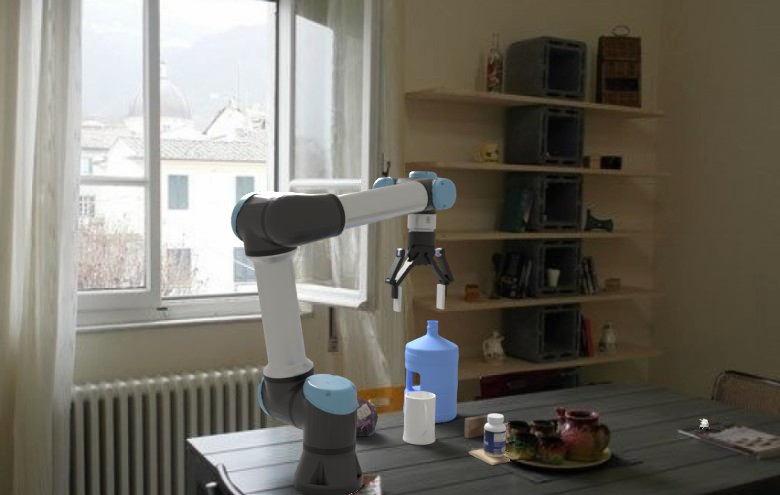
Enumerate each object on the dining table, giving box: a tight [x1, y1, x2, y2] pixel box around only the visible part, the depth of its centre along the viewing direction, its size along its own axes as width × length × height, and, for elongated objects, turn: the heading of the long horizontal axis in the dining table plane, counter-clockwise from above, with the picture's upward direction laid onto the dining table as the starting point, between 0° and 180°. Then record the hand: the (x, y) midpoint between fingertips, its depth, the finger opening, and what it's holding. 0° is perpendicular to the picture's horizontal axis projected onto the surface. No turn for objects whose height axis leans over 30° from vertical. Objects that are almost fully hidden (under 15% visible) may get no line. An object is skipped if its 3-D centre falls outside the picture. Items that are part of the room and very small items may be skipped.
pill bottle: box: [483, 412, 507, 457], centre depth 189 cm, size 5×5×10 cm
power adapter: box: [699, 418, 710, 429], centre depth 218 cm, size 3×3×3 cm
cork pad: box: [468, 448, 511, 466], centre depth 190 cm, size 9×9×1 cm
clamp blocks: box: [463, 414, 509, 439], centre depth 203 cm, size 9×10×5 cm
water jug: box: [402, 319, 460, 424], centre depth 222 cm, size 16×16×28 cm
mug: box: [402, 391, 436, 446], centre depth 199 cm, size 12×8×12 cm
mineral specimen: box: [356, 398, 379, 437], centre depth 204 cm, size 10×10×10 cm
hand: (419, 310), depth 203 cm, fingers open, 13 cm apart
